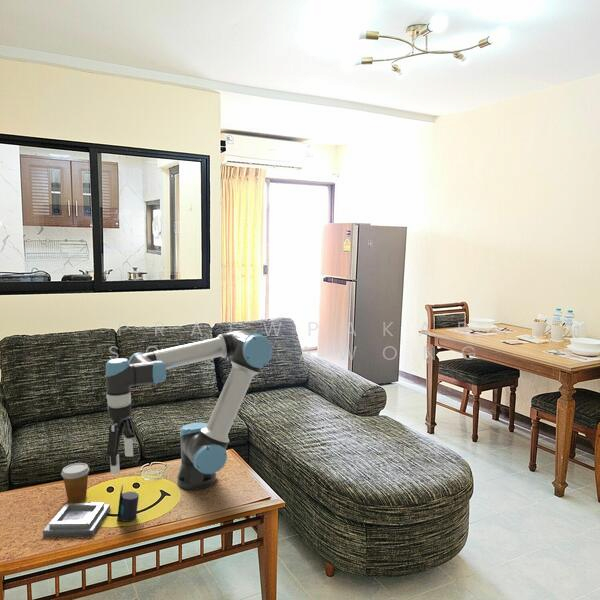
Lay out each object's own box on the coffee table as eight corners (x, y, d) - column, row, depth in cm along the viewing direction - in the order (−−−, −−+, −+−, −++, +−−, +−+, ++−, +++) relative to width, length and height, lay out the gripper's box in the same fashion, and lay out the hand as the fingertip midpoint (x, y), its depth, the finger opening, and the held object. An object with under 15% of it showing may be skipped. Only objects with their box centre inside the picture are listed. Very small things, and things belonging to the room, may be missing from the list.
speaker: (110, 521, 174) (113, 492, 173) (118, 513, 180) (121, 484, 179) (132, 525, 173) (134, 495, 172) (139, 516, 179) (141, 488, 178)
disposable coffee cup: (87, 489, 196) (85, 460, 195) (93, 500, 189) (92, 469, 187) (60, 497, 191) (58, 466, 189) (66, 508, 183) (64, 476, 182)
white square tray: (110, 509, 182) (109, 500, 182) (92, 535, 166) (92, 525, 166) (64, 510, 182) (64, 500, 181) (43, 536, 166) (42, 526, 165)
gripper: (121, 393, 185) (124, 449, 188) (93, 417, 160) (97, 481, 163) (142, 393, 185) (144, 449, 188) (117, 417, 160) (120, 481, 163)
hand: (122, 464), depth 175 cm, fingers open, 13 cm apart
